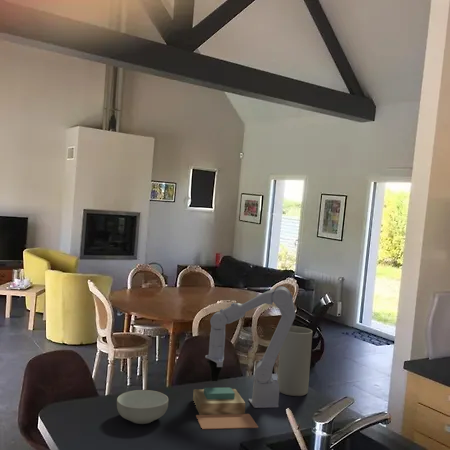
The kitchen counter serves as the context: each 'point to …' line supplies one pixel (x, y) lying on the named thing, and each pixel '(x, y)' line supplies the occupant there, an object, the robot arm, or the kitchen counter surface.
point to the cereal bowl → (142, 405)
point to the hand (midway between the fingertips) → (214, 380)
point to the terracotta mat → (226, 421)
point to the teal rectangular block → (219, 393)
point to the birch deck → (218, 404)
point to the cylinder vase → (295, 362)
